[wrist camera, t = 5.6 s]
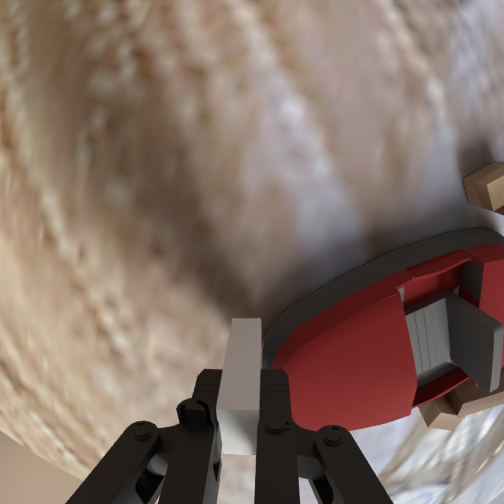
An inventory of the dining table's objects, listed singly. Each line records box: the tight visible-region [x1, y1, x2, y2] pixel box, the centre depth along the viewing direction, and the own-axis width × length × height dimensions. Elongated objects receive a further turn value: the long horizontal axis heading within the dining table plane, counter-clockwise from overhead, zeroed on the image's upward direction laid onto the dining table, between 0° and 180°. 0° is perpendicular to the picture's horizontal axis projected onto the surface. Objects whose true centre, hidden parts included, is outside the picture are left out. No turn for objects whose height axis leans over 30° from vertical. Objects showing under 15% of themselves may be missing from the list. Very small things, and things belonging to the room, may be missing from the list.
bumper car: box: [262, 227, 504, 431], centre depth 13 cm, size 10×20×10 cm, turn 112°
